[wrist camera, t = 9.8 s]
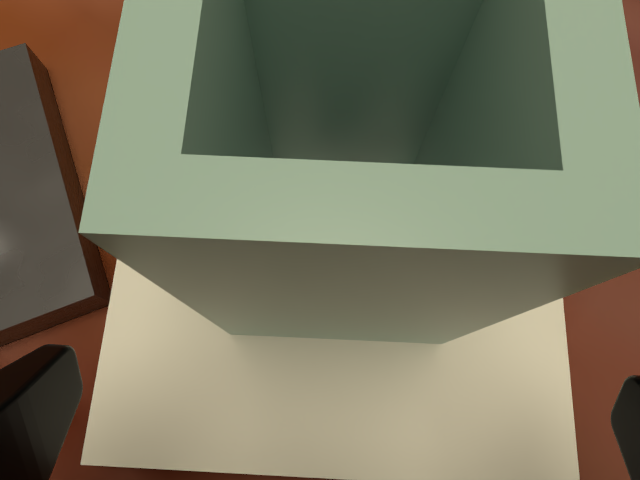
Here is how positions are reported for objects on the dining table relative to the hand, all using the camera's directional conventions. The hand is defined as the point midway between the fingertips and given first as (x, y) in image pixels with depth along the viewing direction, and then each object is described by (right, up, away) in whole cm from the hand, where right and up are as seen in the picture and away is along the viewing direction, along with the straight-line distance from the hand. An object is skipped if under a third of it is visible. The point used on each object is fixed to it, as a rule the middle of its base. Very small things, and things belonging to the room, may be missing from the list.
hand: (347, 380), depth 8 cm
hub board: (0, +2, +9) cm, 9 cm away
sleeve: (0, +2, +8) cm, 8 cm away
